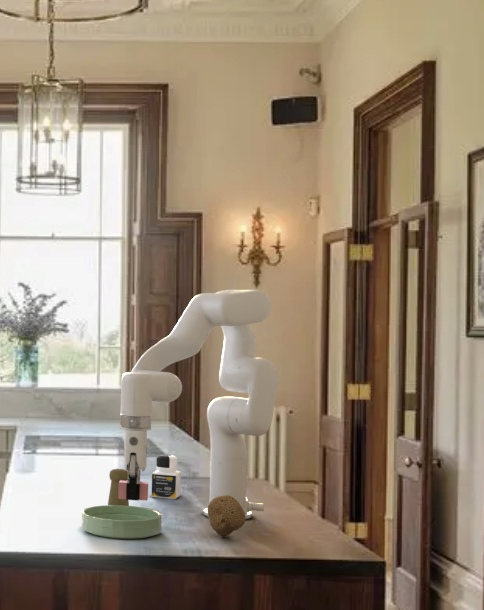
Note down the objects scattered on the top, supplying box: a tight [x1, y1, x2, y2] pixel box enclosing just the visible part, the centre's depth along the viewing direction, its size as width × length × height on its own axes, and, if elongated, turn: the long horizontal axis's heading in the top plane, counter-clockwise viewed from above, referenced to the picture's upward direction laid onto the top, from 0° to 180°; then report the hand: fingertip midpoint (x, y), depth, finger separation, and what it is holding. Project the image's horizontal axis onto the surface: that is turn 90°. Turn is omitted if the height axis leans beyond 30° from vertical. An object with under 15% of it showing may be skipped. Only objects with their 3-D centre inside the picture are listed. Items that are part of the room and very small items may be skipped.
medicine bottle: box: [151, 454, 182, 500], centre depth 295 cm, size 7×7×12 cm
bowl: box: [81, 504, 163, 540], centre depth 246 cm, size 19×19×4 cm
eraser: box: [118, 480, 149, 501], centre depth 246 cm, size 7×3×4 cm, turn 79°
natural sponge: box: [206, 495, 246, 538], centre depth 243 cm, size 9×9×10 cm
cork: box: [107, 468, 130, 506], centre depth 274 cm, size 6×6×11 cm
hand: (133, 497), depth 246 cm, fingers closed on eraser, 3 cm apart
